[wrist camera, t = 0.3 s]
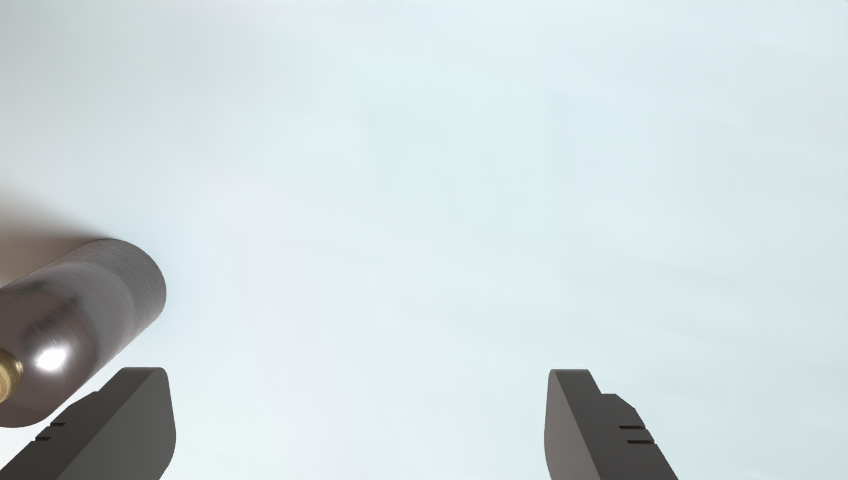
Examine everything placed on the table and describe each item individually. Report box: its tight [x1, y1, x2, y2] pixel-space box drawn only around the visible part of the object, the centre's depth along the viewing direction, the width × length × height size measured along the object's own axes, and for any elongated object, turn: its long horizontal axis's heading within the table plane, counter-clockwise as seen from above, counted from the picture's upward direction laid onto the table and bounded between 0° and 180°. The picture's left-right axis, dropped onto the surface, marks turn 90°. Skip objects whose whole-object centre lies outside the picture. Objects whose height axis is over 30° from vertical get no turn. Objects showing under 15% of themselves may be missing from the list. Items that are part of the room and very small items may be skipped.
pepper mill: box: [0, 239, 166, 428], centre depth 27 cm, size 6×6×11 cm
